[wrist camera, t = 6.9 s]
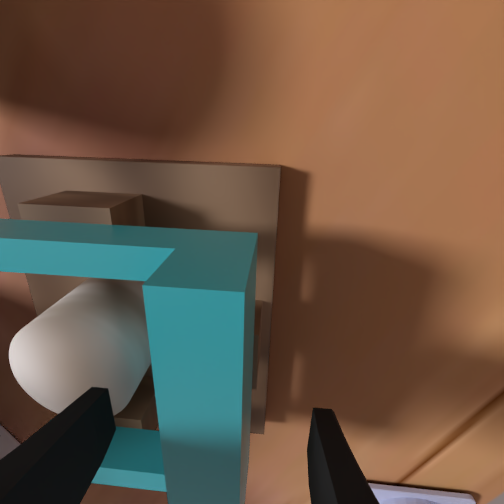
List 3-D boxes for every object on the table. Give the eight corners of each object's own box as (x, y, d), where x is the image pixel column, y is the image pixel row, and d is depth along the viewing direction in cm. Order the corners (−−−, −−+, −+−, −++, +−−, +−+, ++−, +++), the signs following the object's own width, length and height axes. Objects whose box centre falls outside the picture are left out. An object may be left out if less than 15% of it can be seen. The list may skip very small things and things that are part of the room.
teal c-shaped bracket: (55, 435, 16) (-21, 538, 12) (-11, 218, 12) (-167, 263, 8) (249, 456, 15) (237, 573, 11) (258, 232, 11) (244, 292, 7)
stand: (75, 398, 21) (8, 486, 16) (14, 154, 15) (-127, 165, 10) (264, 417, 20) (259, 516, 15) (280, 164, 14) (281, 183, 9)
